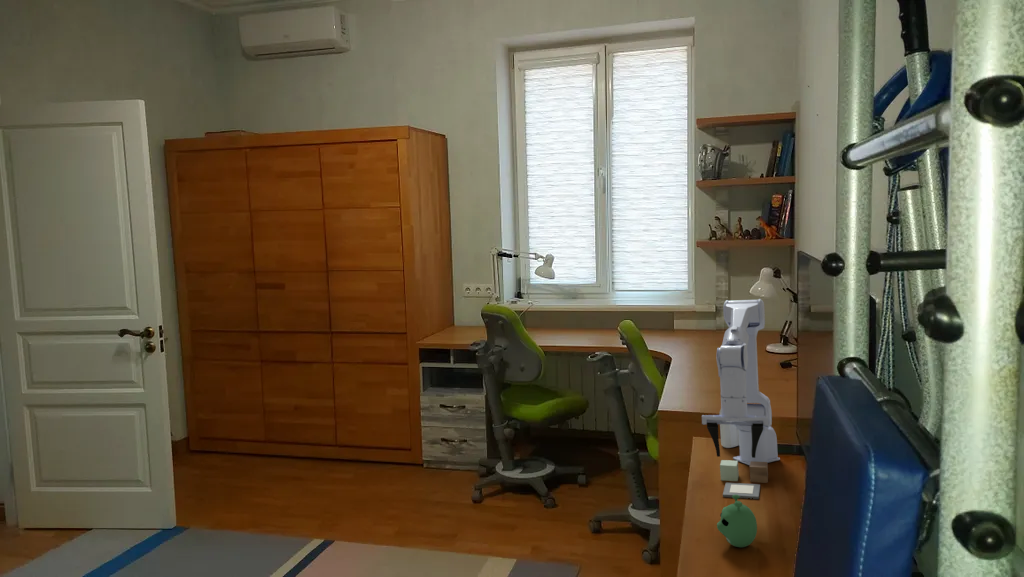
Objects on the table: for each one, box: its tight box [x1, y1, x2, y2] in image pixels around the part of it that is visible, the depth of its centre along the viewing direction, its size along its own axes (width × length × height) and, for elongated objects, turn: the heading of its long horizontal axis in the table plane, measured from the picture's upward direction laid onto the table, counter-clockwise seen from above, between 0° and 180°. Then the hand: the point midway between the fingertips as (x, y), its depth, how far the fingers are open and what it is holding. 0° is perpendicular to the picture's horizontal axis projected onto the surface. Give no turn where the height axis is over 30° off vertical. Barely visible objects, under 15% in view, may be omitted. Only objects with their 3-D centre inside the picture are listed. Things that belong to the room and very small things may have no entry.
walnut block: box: [749, 461, 769, 484], centre depth 174 cm, size 4×4×4 cm
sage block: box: [719, 459, 740, 482], centre depth 177 cm, size 4×4×4 cm
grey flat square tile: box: [722, 482, 761, 500], centre depth 167 cm, size 8×8×1 cm
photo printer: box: [718, 409, 739, 449], centre depth 203 cm, size 10×4×12 cm, turn 123°
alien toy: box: [716, 495, 758, 548], centre depth 139 cm, size 7×8×10 cm
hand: (735, 456), depth 161 cm, fingers open, 7 cm apart
